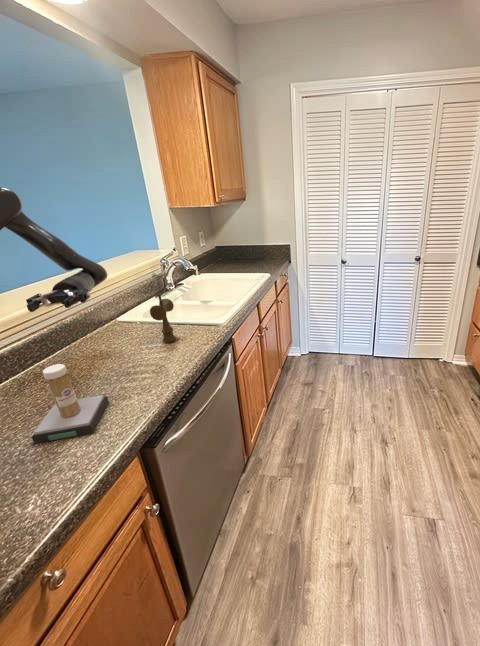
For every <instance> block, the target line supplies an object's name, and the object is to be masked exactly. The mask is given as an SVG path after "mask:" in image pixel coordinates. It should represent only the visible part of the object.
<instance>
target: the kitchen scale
mask: <svg viewBox="0 0 480 646" xmlns="http://www.w3.org/2000/svg"><path fill="white" fill-rule="evenodd" d="M77 401H78V404H79V406H80V408H81V410H80V411H79V412H78V413H77V414H76V415H74V416H71V417H67V418H63V417H61V416H60V412H59V409H58V407H57V406H56V403H55V402H54V404H53V406H52V407H51V408H50V409H49V411H48V413H47V414H46V415H45V417H44V418H43V419H42V421H40V423H39V425H38V426H37V427H36V428H35V430H34V431H33V434H32V435H31V440H32V441H33V444H34V445H38V444H42V443H43V444H44V443H48V442H53V441H58V440H64V439H69V438H75V437H80V436H85V435H90V434H94V433H95V431H96V429H97V427H98V425H99V423H100V421H101V419H102V417H103V415H104V414H105V412H106V409H107V407H108V405H109V403H110V402H109V399H108V396H107V395H104V394H101V395H96V396H89V397H83V398H77Z"/></svg>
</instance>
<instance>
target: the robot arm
mask: <svg viewBox="0 0 480 646" xmlns="http://www.w3.org/2000/svg"><path fill="white" fill-rule="evenodd" d="M22 207H23V205H22V200H21V198H20V197H19V196H18V195H17V193H16V192H14V191H13V190H11V189H9V188H7V187H4V186H0V231H2V230H3V229H4V228H6V229H7V230H8V231H11V232H12V233H13V234H15V235H17V236H18V237H19V238H21V239H23V240H24V241H25V242H27V243H28V244H29V245H31V246H32V247H34V248H35V249H36V250H37V251H39V252H40V253H41V254H43V255H44V256H45V257H46V258H47V259H49V260H51V261H52V263H54V264H55V265H58V267H60V268H61V269H63V270H64V271H67V272H71V271H73V270H76V269H81V270H79V271H78V272H76V273H73V274H72V275H70V276H67V277H65V278H63V279H62V280H60V281H58V282H57V283H55V284H54V285H53V287H52V289H51V291H50V292H47V293H44V294H42V293H37V294H34V295H32V296H30V297H29V298H26V299H25V302H26V308H27V310H28V312H30V313H34V312H35V311H37V310H39V309H40V308H43V307H45V308H49V307H52V306H56V305H63V306H64V308H65V309H70V308H71V307H72V306H73V305H77V304H79V303H83V304H84V303H85V302H87V301H88V300H89V299H90V298H91V294H90V293H91V291H92V290H93V289H94V288H96V287H97V286H98V285H100V284H102V283H103V282H105V281H106V280H107V279H108V272H107V270H106V268H104V267H103V266H102V265H101V264H99V263H98V262H95V261H93V260H92V259H89V258H87V257H85V256H83V255H81V254H79V253H78V252H77V251H76V250H75V249H73V248H72V247H70V245H68V244H67V243H65V241H63V240H61V238H59V237H57V236H56V235H54V234H52V233H51V232H49V231H48V230H46V229H44V228H43V227H42V226H41V225H39V224H38V223H36V222H34V221H33V220H32V219H31V218H30V217H28V216H27V215H26V214H25V213H24V212H23V211H22V209H23V208H22Z"/></svg>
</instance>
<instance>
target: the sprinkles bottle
mask: <svg viewBox="0 0 480 646" xmlns="http://www.w3.org/2000/svg"><path fill="white" fill-rule="evenodd" d="M42 375H43V377H44V379H45V380H46V381H47V384H48V387H49V391H50V393H51V395H52V398H53V400H54V404H55V403H56V406H57V407H58V409H59V412H60V416H61V417H63V418H67V417H71V416H74V415H76V414H77V413H78V412H79V411H80V410H81V408H80V406H79V404H78V401H77V399H78V398H77V395H76V392H75V389H74V387H73V384H72V382H71V381H70V378H69V375H68V370H67V367H66V365H65V364H63V363H58V364H57V363H56V364H51V365H50V366H47V367H46V368H44V369H43V370H42Z"/></svg>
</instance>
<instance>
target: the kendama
mask: <svg viewBox="0 0 480 646" xmlns="http://www.w3.org/2000/svg"><path fill="white" fill-rule="evenodd" d="M157 295H158V301H159V302H158V305H157V304H156V305H153V306H151V307H150V309H149V315H150V317H151V318H152V319H153V320H155V321H162V329H161V333H162V335H163V338H162V343H173V342H174V341H176V340H177V337H176V335H175V334H174V332H173V331H174V328H173V327H172V326H171V324H170V322H169V320H168V317H167V312H168V313H169V312H172V311H173V310H174V302H173V301H172V300H171V299H170V298H162V295H161V293H160V292H158V294H157Z"/></svg>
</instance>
